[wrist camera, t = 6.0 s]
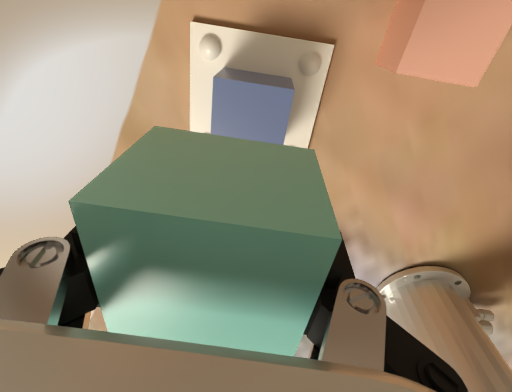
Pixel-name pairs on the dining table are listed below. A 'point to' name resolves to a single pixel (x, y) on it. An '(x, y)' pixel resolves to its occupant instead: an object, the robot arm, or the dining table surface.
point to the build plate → (257, 60)
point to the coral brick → (445, 38)
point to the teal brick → (209, 240)
